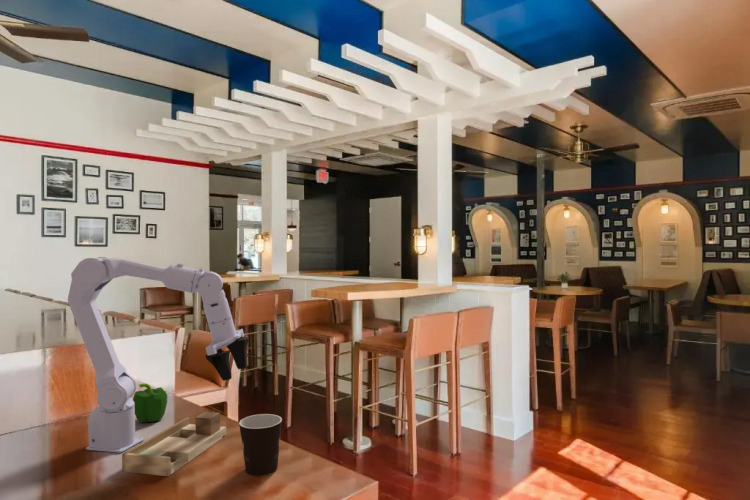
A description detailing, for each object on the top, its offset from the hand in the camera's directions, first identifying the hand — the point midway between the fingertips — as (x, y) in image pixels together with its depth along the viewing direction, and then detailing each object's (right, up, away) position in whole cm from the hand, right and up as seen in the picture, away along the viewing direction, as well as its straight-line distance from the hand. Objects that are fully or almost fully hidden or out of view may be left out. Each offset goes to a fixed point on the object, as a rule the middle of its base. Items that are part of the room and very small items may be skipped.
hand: (235, 373), depth 126 cm
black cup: (+11, -15, -18) cm, 26 cm away
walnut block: (-6, -13, -3) cm, 15 cm away
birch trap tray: (-10, -15, -9) cm, 20 cm away
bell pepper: (-26, -15, +12) cm, 32 cm away
